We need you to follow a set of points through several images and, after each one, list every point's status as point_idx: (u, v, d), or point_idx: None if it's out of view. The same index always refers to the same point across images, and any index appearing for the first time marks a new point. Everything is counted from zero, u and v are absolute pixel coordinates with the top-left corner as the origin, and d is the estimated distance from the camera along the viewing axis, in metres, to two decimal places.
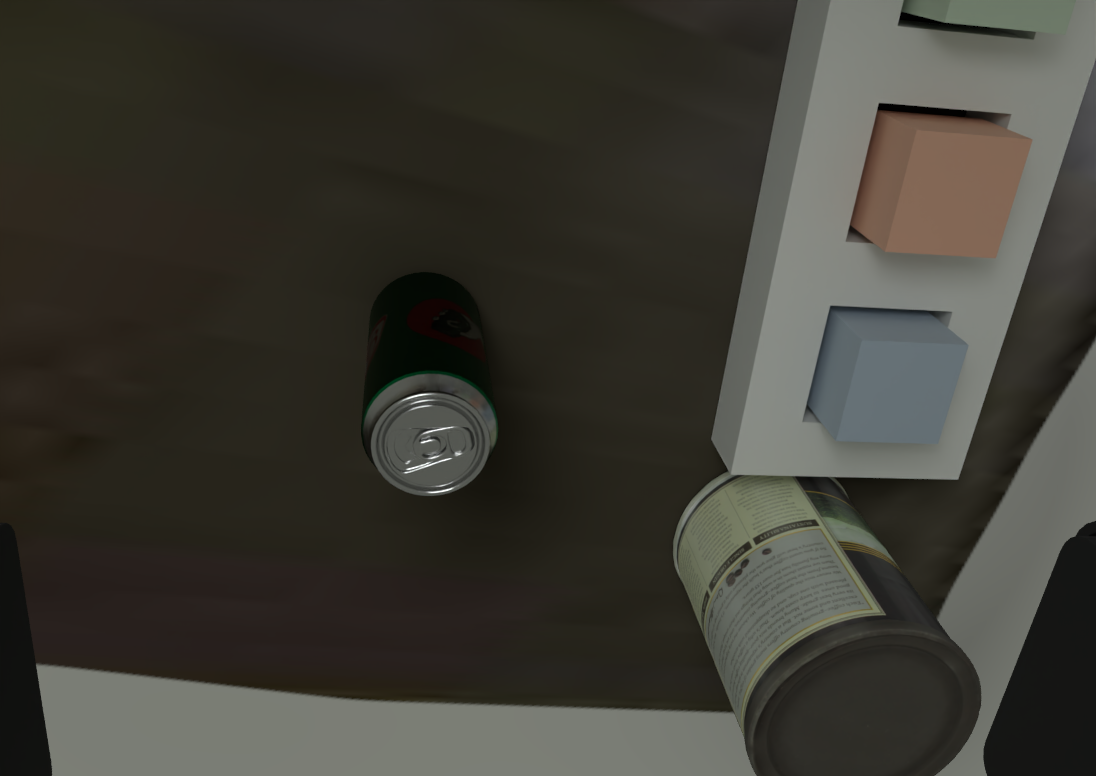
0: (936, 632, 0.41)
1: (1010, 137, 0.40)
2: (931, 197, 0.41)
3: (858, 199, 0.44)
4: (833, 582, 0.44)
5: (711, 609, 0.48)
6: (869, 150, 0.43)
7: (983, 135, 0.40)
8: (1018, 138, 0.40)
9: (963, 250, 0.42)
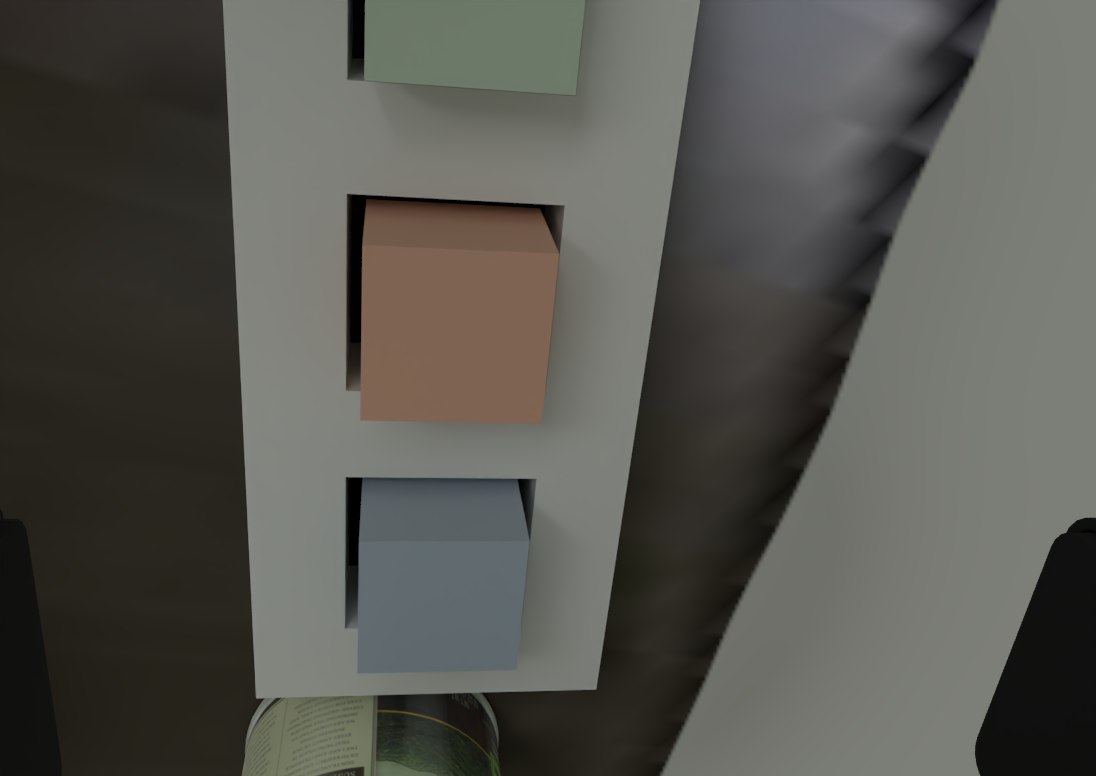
0: None
1: (524, 251, 0.26)
2: (414, 341, 0.26)
3: None
4: None
5: None
6: None
7: (478, 249, 0.26)
8: (536, 252, 0.26)
9: (486, 414, 0.28)
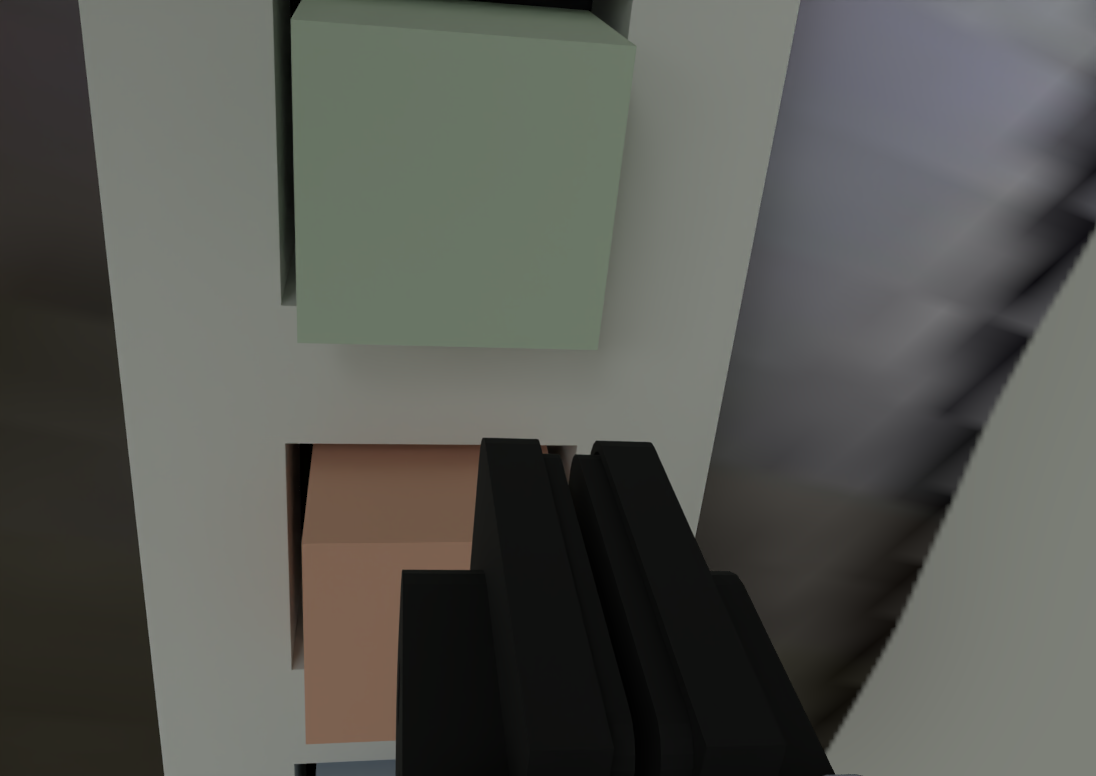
0: None
1: None
2: (377, 651, 0.20)
3: None
4: None
5: None
6: None
7: (462, 539, 0.19)
8: None
9: None
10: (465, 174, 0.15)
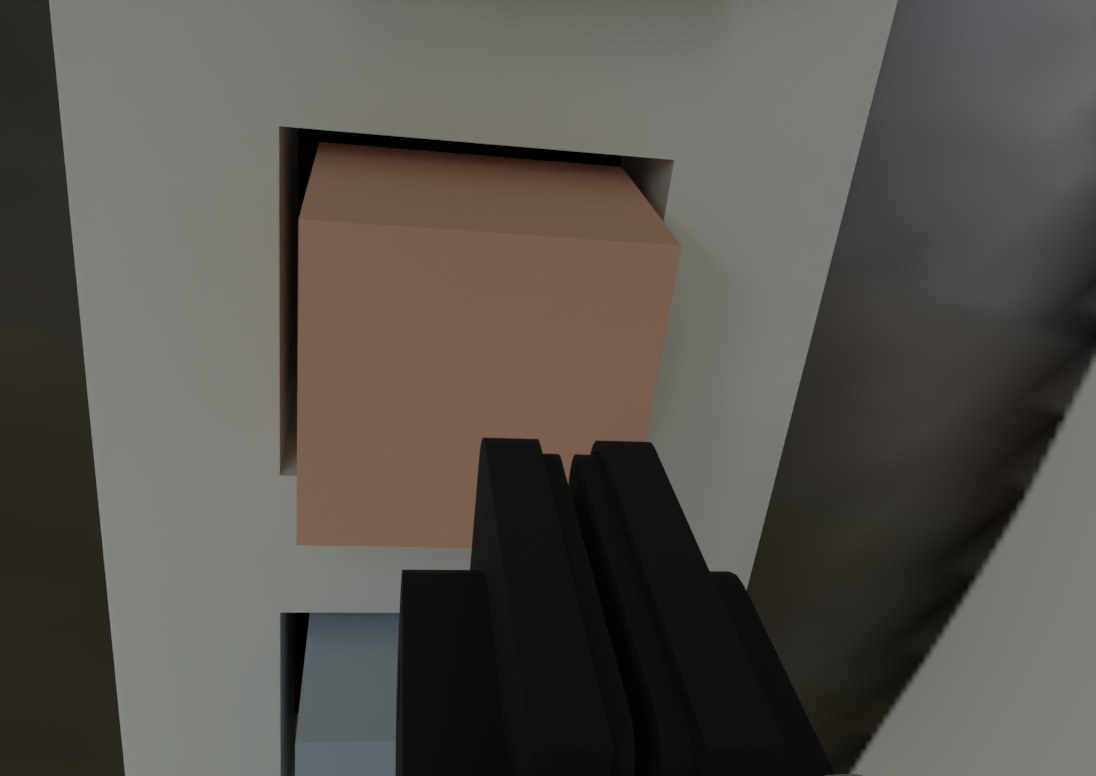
0: None
1: (614, 239, 0.13)
2: (400, 405, 0.14)
3: None
4: None
5: None
6: None
7: (526, 233, 0.13)
8: (638, 242, 0.13)
9: None
10: None
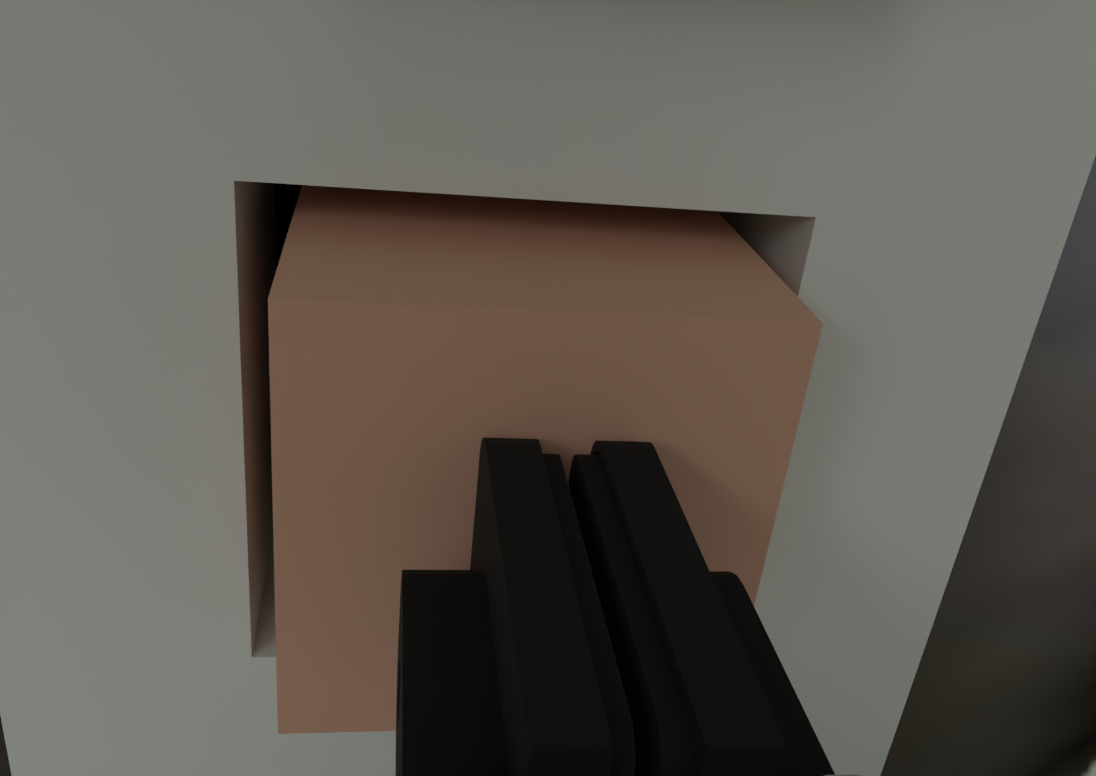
0: None
1: (725, 315, 0.09)
2: (419, 550, 0.10)
3: None
4: None
5: None
6: None
7: (601, 311, 0.09)
8: (760, 319, 0.09)
9: None
10: None
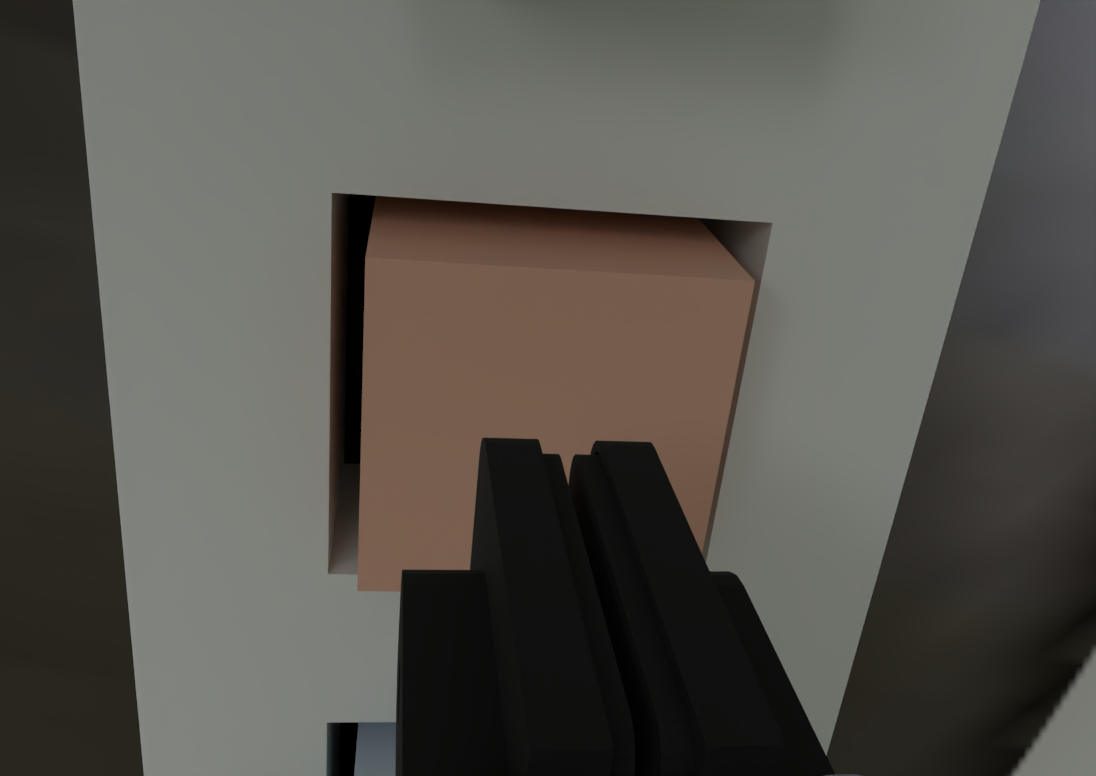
0: None
1: (685, 275, 0.13)
2: (465, 447, 0.14)
3: None
4: None
5: None
6: None
7: (596, 270, 0.13)
8: (710, 278, 0.13)
9: None
10: None
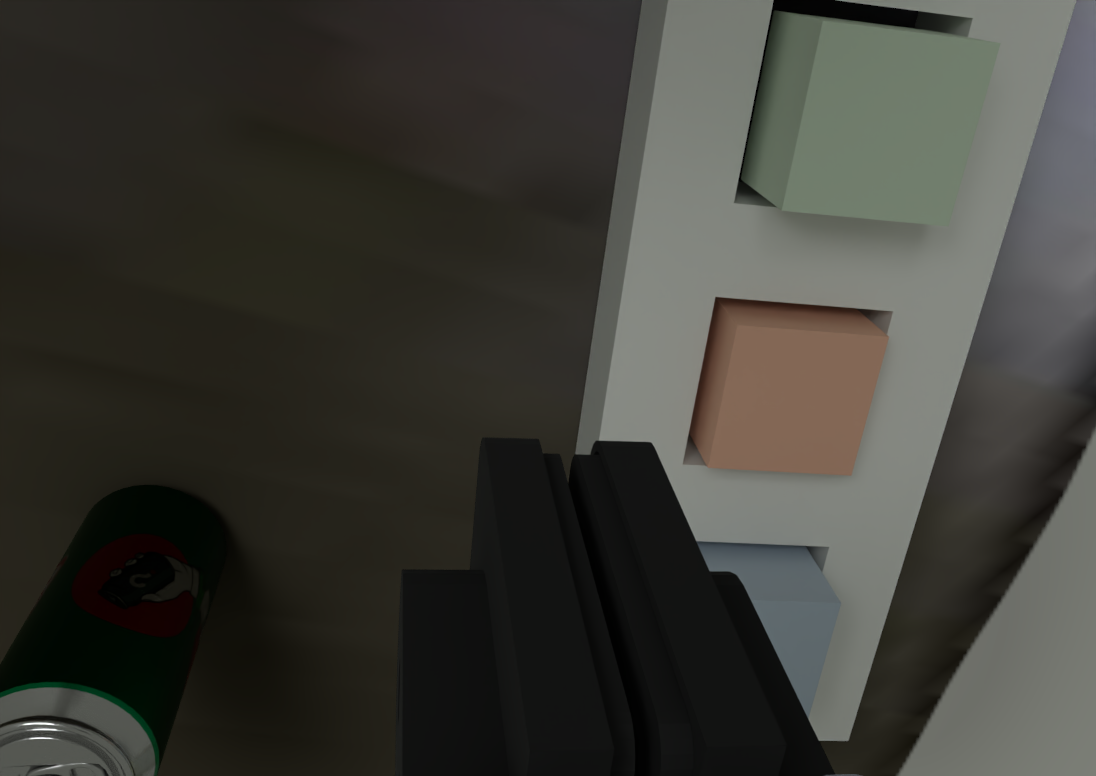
0: None
1: (860, 333, 0.32)
2: (763, 404, 0.32)
3: None
4: None
5: None
6: None
7: (825, 331, 0.31)
8: (870, 335, 0.32)
9: (808, 466, 0.33)
10: (895, 113, 0.27)
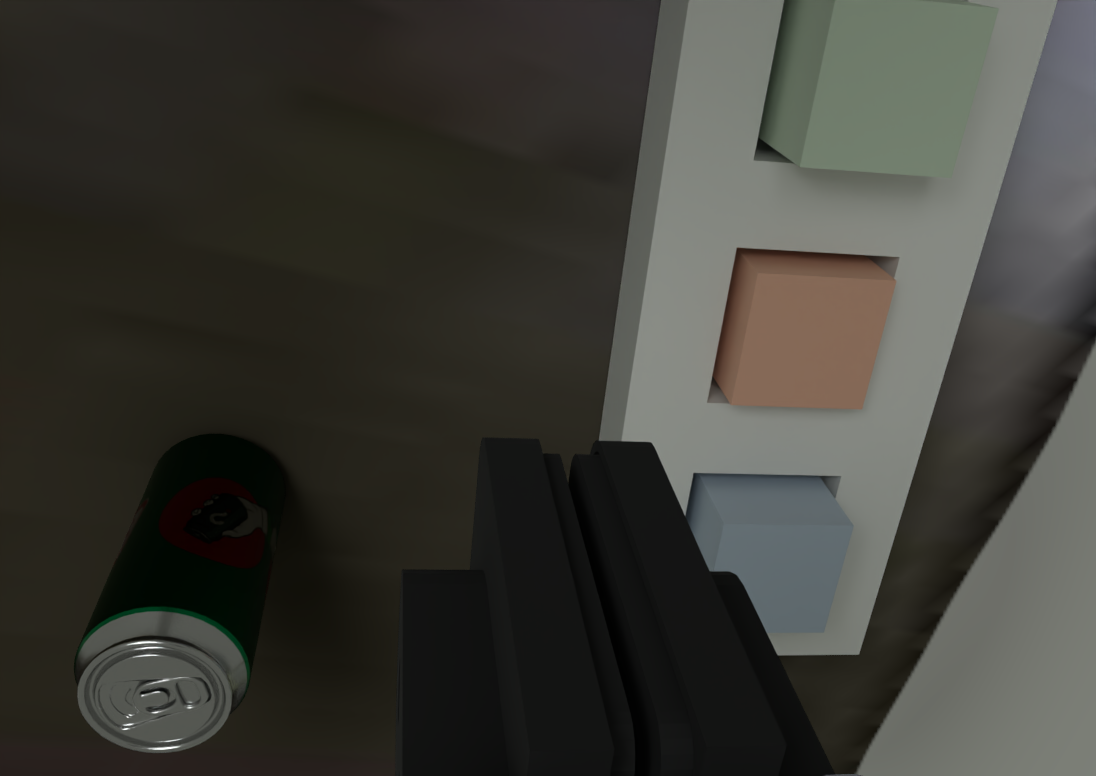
0: None
1: (870, 278, 0.34)
2: (781, 345, 0.35)
3: None
4: None
5: None
6: None
7: (838, 277, 0.34)
8: (879, 279, 0.34)
9: (823, 401, 0.36)
10: (902, 75, 0.30)
